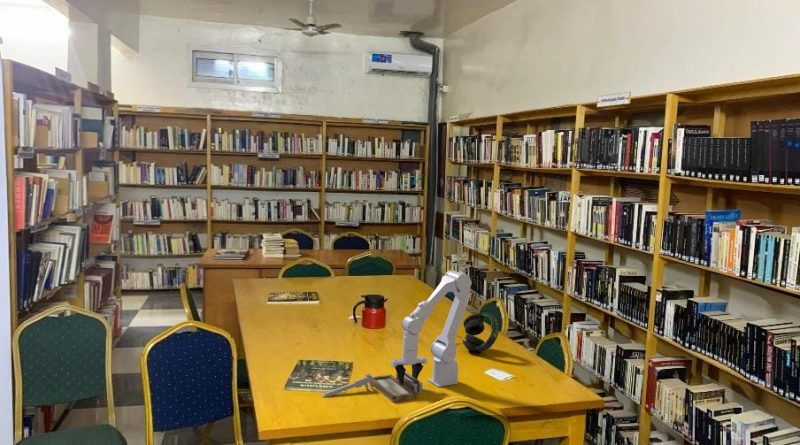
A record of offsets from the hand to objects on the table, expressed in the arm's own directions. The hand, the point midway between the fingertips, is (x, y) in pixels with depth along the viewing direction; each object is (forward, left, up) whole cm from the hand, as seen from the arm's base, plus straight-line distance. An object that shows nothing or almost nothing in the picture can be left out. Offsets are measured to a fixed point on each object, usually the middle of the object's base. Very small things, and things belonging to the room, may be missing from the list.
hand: (407, 383), depth 227 cm
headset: (-49, -30, -2) cm, 58 cm away
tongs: (-1, 0, -2) cm, 2 cm away
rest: (+7, 0, -2) cm, 7 cm away
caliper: (+23, -4, -2) cm, 23 cm away
